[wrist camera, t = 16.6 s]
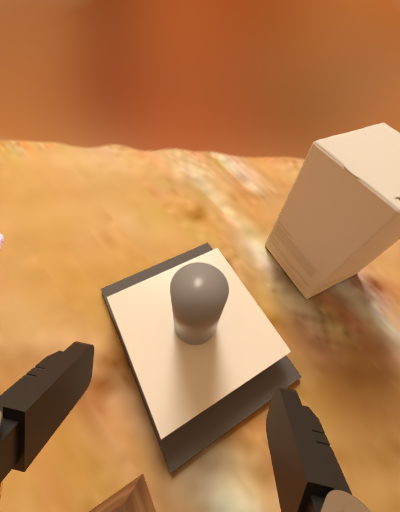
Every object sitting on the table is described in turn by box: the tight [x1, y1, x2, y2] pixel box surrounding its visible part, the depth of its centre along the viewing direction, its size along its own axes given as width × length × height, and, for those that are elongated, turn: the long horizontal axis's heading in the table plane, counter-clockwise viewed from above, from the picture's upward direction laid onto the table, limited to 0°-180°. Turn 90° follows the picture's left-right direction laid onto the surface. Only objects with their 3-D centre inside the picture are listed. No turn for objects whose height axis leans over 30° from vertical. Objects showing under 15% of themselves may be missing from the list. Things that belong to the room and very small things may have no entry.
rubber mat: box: [101, 243, 301, 473], centre depth 25 cm, size 18×14×1 cm
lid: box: [107, 248, 291, 439], centre depth 21 cm, size 13×13×10 cm
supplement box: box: [265, 123, 400, 299], centre depth 25 cm, size 9×9×15 cm
